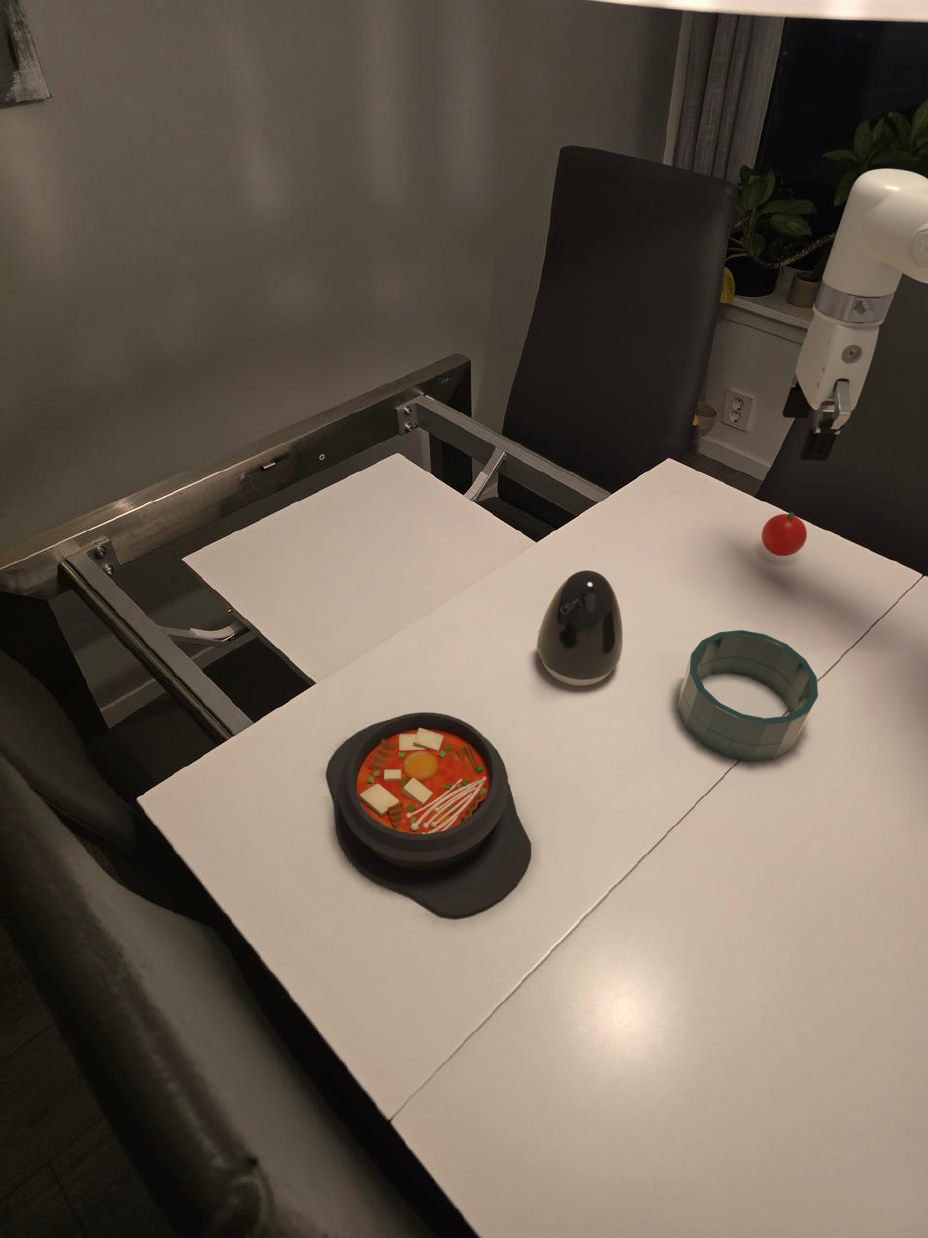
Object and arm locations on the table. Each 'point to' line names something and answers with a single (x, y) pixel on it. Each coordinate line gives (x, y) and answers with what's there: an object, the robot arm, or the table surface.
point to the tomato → (784, 534)
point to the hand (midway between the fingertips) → (803, 437)
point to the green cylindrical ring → (763, 664)
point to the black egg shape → (581, 630)
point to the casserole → (429, 811)
